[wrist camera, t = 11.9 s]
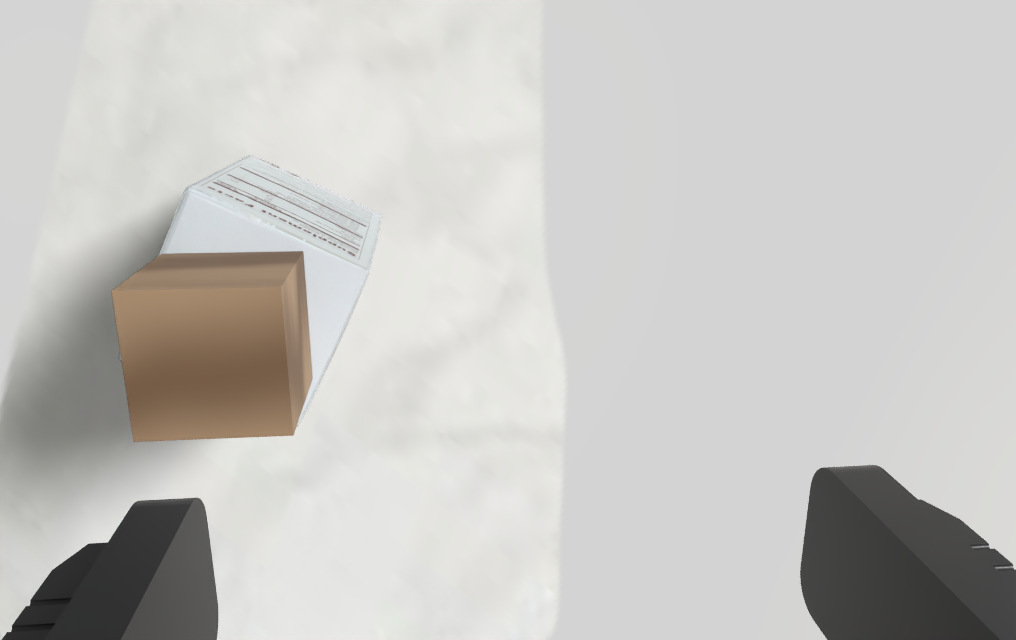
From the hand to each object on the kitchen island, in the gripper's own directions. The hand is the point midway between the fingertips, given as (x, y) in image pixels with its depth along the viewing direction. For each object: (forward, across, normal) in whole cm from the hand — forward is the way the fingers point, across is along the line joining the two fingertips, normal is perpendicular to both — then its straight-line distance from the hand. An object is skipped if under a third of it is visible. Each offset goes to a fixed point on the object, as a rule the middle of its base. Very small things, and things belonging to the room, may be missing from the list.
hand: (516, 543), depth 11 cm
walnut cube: (+20, +8, +3) cm, 22 cm away
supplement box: (+33, +8, +3) cm, 34 cm away
